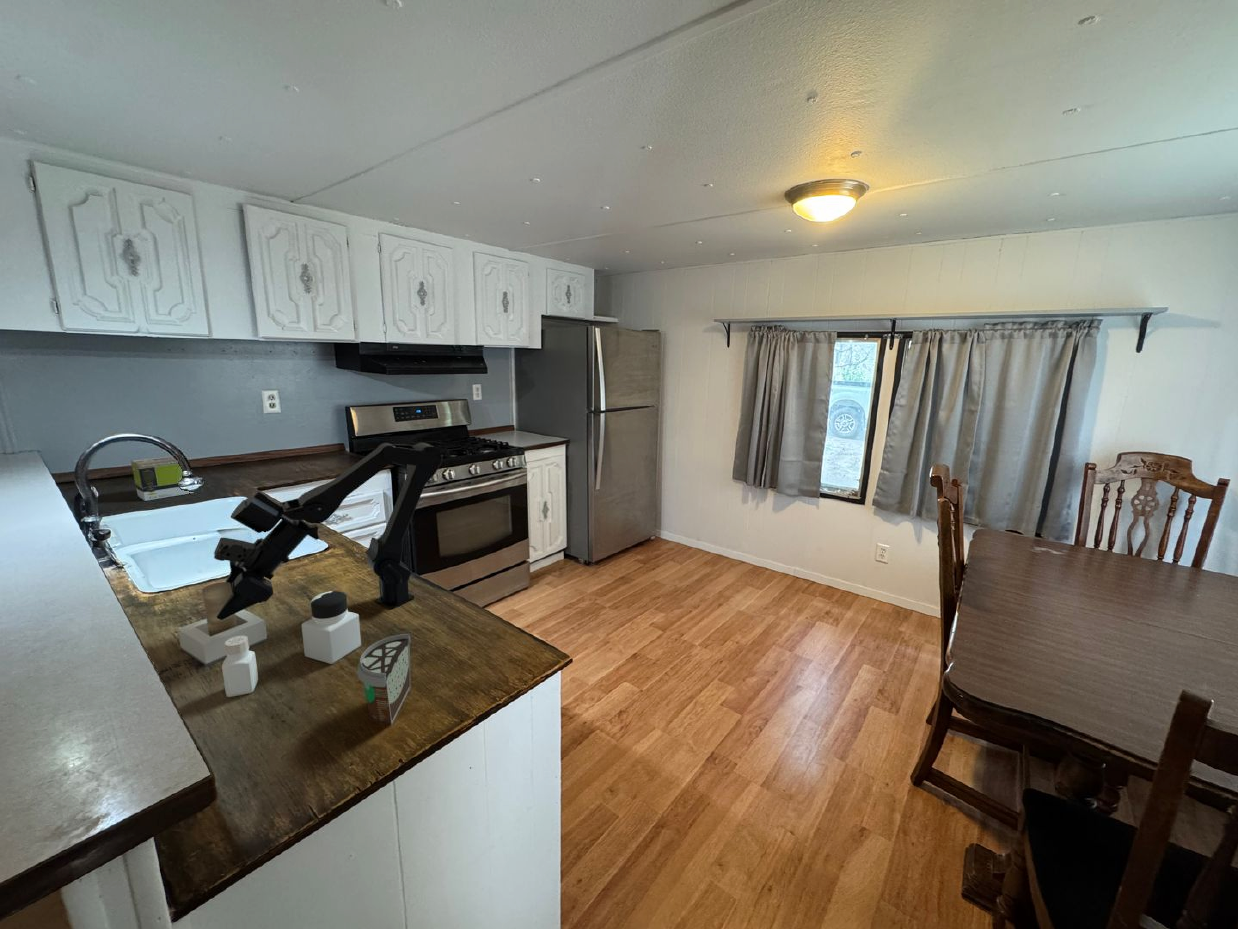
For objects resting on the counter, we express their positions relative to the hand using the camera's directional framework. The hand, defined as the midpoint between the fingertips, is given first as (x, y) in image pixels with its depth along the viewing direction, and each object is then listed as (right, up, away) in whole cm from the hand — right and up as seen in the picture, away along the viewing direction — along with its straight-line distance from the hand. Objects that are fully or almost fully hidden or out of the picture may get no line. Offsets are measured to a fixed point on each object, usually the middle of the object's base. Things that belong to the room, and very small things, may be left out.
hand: (218, 609), depth 98 cm
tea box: (-100, +16, +98) cm, 141 cm away
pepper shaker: (+13, -11, -11) cm, 20 cm away
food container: (+39, -13, -14) cm, 43 cm away
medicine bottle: (+22, -9, +1) cm, 24 cm away
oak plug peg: (0, -7, +2) cm, 7 cm away
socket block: (0, -8, +2) cm, 8 cm away
